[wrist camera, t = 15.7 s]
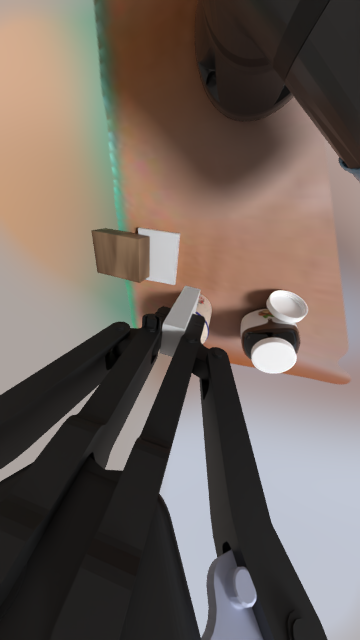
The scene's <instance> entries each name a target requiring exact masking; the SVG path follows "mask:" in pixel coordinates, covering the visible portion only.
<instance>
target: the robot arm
mask: <svg viewBox="0 0 360 640" xmlns="http://www.w3.org/2000/svg"><path fill="white" fill-rule="evenodd" d="M195 52H196V59H197V65H198V69H199V73H200V76H201V80H202V83H203V86H204V89H205V91H206V93H207V95H208V97H209V99H210V100H211V102H212V103H213V105H214V106H215V107H216V108H217V109H218V110H219V111H220V112H221V113H223V114H224V115H226V116H227V117H229V118H231V119H234V120H239V121H253V120H258V119H261V118H264V117H266V116H268V115H270V114H272V113H274V112H276V111H277V110H279V109H280V108H281V107H283V106H284V105H285V104H286V103H287V102H288V101H290V100H291V99H292V98H293V97H295V99H296V100H297V101H298V103H299V104H300V105H301V107H302V108H303V109H304V111H305V112H306V113H307V115H308V116H309V117H310V119H311V120H312V121H313V123H314V124H315V125H316V127H317V128H318V129H319V131H320V132H321V133H322V135H323V136H324V137H325V139H326V140H327V141H328V143H329V144H330V145H331V147H332V148H333V149H334V151H335V152H336V153H337V155H338V156H339V163H340V165H341V167H342V168H343V169H344V170H346V171H348V172H350V173H352V174H353V175H354V176H355V177H356V179H357V180H358V181H359V182H360V0H198V1H197V8H196V16H195ZM200 290H201V289H197V288H193V287H188V286H185V287H184V289H183V290H182V292H181V294H180V295H179V297H178V299H177V300H176V302H175V304H174V305H173V307H172V308H168V307H164V306H163V307H161V308H159V309H158V311H157V312H156V313H155V314H146V315H144V316H143V318H142V327H141V328H139V329H135V328H130V326H129V324H127V323H125V322H116V323H113V324H111V325H110V326H109V327H107V328H105V329H104V330H102V331H100V332H99V333H97V334H96V335H94V336H93V337H91V338H90V339H88V340H86V341H85V342H83V343H82V344H80V345H79V346H77V347H75V348H74V349H72V350H71V351H69V352H68V353H66V354H64V355H63V356H61V357H60V358H58V359H57V360H55V361H53V362H52V363H50V364H49V365H47V366H46V367H44V368H43V369H41V370H39V371H38V372H36V373H35V374H33V375H31V376H30V377H28V378H27V379H25V380H24V381H22V382H20V383H19V384H17V385H16V386H14V387H13V388H11V389H9V390H8V391H6V392H5V393H3V394H2V395H0V469H1V468H3V467H5V466H6V465H7V464H9V463H10V462H11V461H13V460H14V459H16V458H17V457H18V456H19V455H20V454H22V453H23V452H24V451H25V450H27V449H28V448H29V447H30V446H31V445H32V444H33V443H34V442H36V441H37V440H38V439H39V438H40V437H41V436H42V435H44V433H46V432H47V431H48V430H49V429H50V428H51V427H52V426H53V425H54V424H56V423H57V422H58V421H59V420H60V419H61V418H62V417H64V416H65V414H67V413H68V412H69V411H70V410H71V409H72V408H74V407H75V406H76V405H77V404H78V403H79V402H80V401H81V400H82V399H83V398H85V397H86V396H87V395H88V394H89V393H90V392H91V391H92V390H94V389H95V388H96V387H97V386H98V385H99V384H100V385H99V386H98V388H97V389H96V390H95V392H94V393H93V394H92V396H91V397H90V399H89V400H88V401H87V403H86V404H85V405H84V407H83V408H82V409H81V411H80V412H79V413H78V414H77V415H72V416H70V417H69V418H68V419H67V420H66V421H65V422H64V423H63V425H62V426H61V427H60V428H59V430H58V431H57V432H56V434H55V435H54V437H53V438H52V439H51V440H50V442H49V443H48V444H47V445H46V447H45V448H44V450H43V451H42V452H41V453H40V455H39V456H38V457H37V459H36V460H35V461H34V462H33V463H31V464H30V465H28V466H26V467H25V468H23V469H21V470H19V471H18V472H16V473H14V474H13V475H11V476H9V477H7V478H6V479H4V480H2V481H1V482H0V640H327V637H326V635H325V632H324V629H323V627H322V624H321V622H320V620H319V618H318V616H317V614H316V612H315V610H314V608H313V606H312V604H311V602H310V600H309V598H308V596H307V594H306V592H305V590H304V588H303V586H302V584H301V582H300V580H299V578H298V576H297V574H296V572H295V570H294V568H293V566H292V564H291V562H290V560H289V558H288V556H287V554H286V552H285V549H284V548H283V545H282V543H281V541H280V539H279V538H278V535H277V533H276V531H275V529H274V528H273V525H272V523H271V519H270V516H269V512H268V508H267V504H266V500H265V497H264V492H263V489H262V485H261V481H260V477H259V473H258V469H257V466H256V462H255V458H254V454H253V451H252V446H251V443H250V439H249V435H248V431H247V427H246V423H245V420H244V416H243V412H242V408H241V404H240V400H239V396H238V392H237V389H236V385H235V381H234V377H233V373H232V369H231V366H230V362H229V358H228V355H227V353H226V352H225V351H224V350H222V349H221V348H217V347H213V348H210V349H208V348H206V347H205V346H204V345H203V344H202V343H201V336H202V332H203V328H204V325H205V321H206V320H205V318H204V316H200V315H196V314H195V313H196V308H197V304H198V299H199V295H200ZM159 349H160V353H162V354H165V355H168V356H172V357H173V358H172V361H171V363H170V365H169V367H168V370H167V372H166V375H165V377H164V380H163V382H162V385H161V387H160V389H159V392H158V394H157V397H156V399H155V402H154V404H153V406H152V409H151V411H150V413H149V416H148V418H147V421H146V423H145V426H144V428H143V430H142V433H141V435H140V437H139V438H138V439H137V440H136V442H135V444H134V446H133V448H132V451H131V453H130V455H129V458H128V460H127V463H126V465H125V467H124V470H123V471H118V470H117V471H116V470H105V467H106V465H107V462H108V458H109V455H110V452H111V449H112V447H113V445H114V443H115V441H116V439H117V437H118V435H119V433H120V431H121V429H122V427H123V425H124V423H125V421H126V419H127V417H128V415H129V413H130V411H131V409H132V407H133V405H134V403H135V401H136V399H137V397H138V395H139V393H140V391H141V389H142V387H143V385H144V383H145V381H146V379H147V377H148V375H149V373H150V371H151V369H152V367H153V365H154V363H155V361H156V359H157V356H158V351H159ZM191 373H193V374H194V375H196V376H198V377H199V378H200V391H201V404H202V416H203V428H204V440H205V452H206V464H207V477H208V489H209V501H210V514H211V523H212V530H213V538H214V543H215V547H216V553H217V558H216V559H215V560H214V561H213V562H212V564H211V566H210V567H209V571H208V575H207V595H208V604H209V610H208V621H207V625H206V629H205V632H204V634H203V636H202V638H201V637H200V633H199V629H198V625H197V621H196V617H195V613H194V609H193V605H192V601H191V597H190V593H189V589H188V585H187V581H186V577H185V573H184V569H183V565H182V561H181V557H180V553H179V549H178V545H177V541H176V537H175V533H174V529H173V525H172V521H171V517H170V514H169V511H168V508H167V506H166V504H165V502H164V500H163V498H162V497H161V495H160V494H159V492H160V488H161V484H162V480H163V477H164V473H165V469H166V465H167V462H168V458H169V455H170V451H171V447H172V443H173V440H174V436H175V432H176V429H177V425H178V421H179V417H180V414H181V410H182V406H183V402H184V399H185V395H186V392H187V388H188V384H189V381H190V377H191Z"/></svg>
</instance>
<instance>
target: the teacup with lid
mask: <svg viewBox="0 0 360 640" xmlns="http://www.w3.org/2000/svg"><path fill="white" fill-rule="evenodd" d="M177 299H178V298H177ZM177 299H176V300H177ZM175 302H176V301H175ZM174 304H175V303H174ZM174 304H173V305H174ZM172 307H173V306H172ZM211 313H212V307H211V304H210V302H209V300H208V299H207V298H206V297H205V296H203V295H202V294H200V295H199V299H198V304H197V308H196V313H195V314H196V315H200V316H204V318H205V320H206V321H205V325H204V328H203V332H202V336H201V343H202V344H203V343H204V342H205V341H206V339H207V337H208V334H209V323H210V318H211Z"/></svg>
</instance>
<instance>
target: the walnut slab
mask: <svg viewBox="0 0 360 640" xmlns="http://www.w3.org/2000/svg"><path fill="white" fill-rule="evenodd" d="M92 236H93V244H94V251H95V257H96V265H97V271H98V272H99V273H103V274H107V275H111V276H115V277H119V278H122V279H126V280H130V281H134V282H138V283H140V282H142V281H143V280H145V279H146V278H148V277H150V236H146V235H141V234H135V233H129V232H124V231H118V230H113V229H107V228H105V229H99V230H93V231H92Z"/></svg>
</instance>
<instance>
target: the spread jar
mask: <svg viewBox="0 0 360 640" xmlns="http://www.w3.org/2000/svg"><path fill="white" fill-rule="evenodd" d="M266 305H267V308H260V309H257V310H254V311H252V312H250V313H248V314H247V315H245V316H244V317H243V319H242V321H241V328H240V334H241V344H242V348H243V351H244V353H245V354H246V356H247V357H248V358H249V359H251V360H252V363H253V365H254V366H255V367H256V368H257V369H259V370H261V371H263V372H266V373H281V372H285V371H287V370H289V369H290V368H291V367H293V365H294V364H295V362H296V354H297V352H298V350H299V346H300V336H299V331H298V328H297V325H296V322H299V321H301V320H302V319H303V318H304V317H305V316H306V314H307V313H308V307H307V304H306V303H305V301H304V300H303V299H302V298H300V297H299V296H298V295H296V294H294V293H292V292H289V291H285V290H278V291H274V292H273V293H271V295H270V296H269V298H268V299H267V302H266Z"/></svg>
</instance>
